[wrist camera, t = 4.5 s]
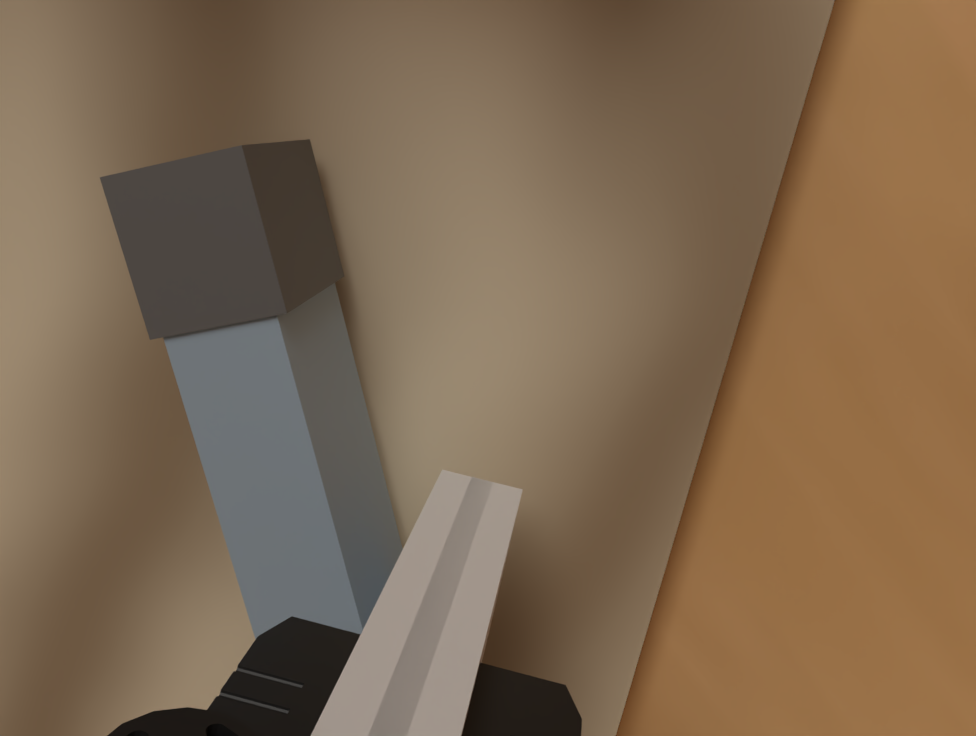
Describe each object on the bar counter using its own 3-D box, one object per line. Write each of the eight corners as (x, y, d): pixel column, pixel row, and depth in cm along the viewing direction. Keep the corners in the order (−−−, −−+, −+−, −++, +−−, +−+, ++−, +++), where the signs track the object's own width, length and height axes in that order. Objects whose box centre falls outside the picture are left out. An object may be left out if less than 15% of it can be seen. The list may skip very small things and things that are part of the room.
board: (-294, 813, 20) (-580, 1037, 15) (-361, -539, 13) (-928, -926, 8) (516, 1034, 19) (489, 1349, 14) (906, -297, 12) (1114, -570, 7)
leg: (557, 1015, 17) (544, 1334, 12) (410, 1023, 17) (348, 1334, 13) (343, 131, 13) (213, 141, 8) (161, 172, 13) (-52, 200, 9)
